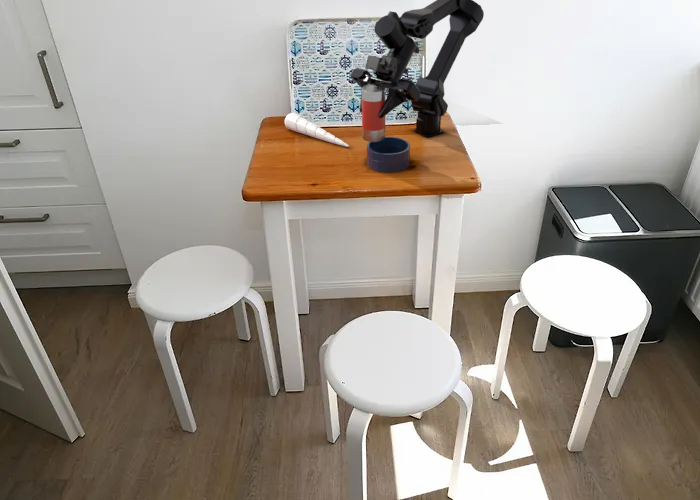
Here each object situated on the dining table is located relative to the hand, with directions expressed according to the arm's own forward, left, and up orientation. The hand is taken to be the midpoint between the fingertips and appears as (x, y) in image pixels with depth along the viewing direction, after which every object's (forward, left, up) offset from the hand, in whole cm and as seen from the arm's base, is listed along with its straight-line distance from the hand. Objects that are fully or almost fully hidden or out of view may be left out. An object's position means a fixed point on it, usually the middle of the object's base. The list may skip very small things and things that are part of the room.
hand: (370, 114), depth 144 cm
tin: (-1, 0, -7) cm, 7 cm away
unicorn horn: (+2, -24, -14) cm, 27 cm away
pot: (-4, +2, -14) cm, 14 cm away
